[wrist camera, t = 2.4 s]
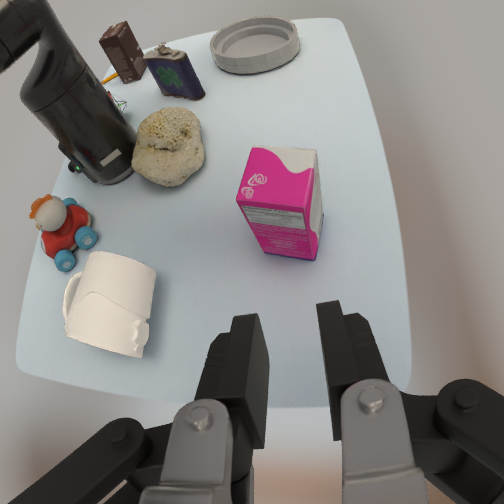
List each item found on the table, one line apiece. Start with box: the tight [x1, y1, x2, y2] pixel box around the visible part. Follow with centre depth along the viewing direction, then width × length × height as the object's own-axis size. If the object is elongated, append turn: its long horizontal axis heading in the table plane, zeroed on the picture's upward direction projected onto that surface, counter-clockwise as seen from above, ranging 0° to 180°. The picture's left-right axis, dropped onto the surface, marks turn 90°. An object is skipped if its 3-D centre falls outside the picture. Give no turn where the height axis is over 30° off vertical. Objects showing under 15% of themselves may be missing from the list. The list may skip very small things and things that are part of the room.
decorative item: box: [131, 107, 205, 187], centre depth 41 cm, size 12×9×10 cm
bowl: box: [210, 16, 300, 74], centre depth 48 cm, size 15×15×4 cm
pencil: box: [101, 72, 118, 84], centre depth 58 cm, size 1×13×1 cm
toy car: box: [29, 194, 97, 272], centre depth 38 cm, size 9×9×10 cm
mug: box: [63, 251, 156, 358], centre depth 33 cm, size 12×9×8 cm
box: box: [99, 21, 147, 84], centre depth 51 cm, size 6×4×12 cm
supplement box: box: [236, 146, 324, 261], centre depth 30 cm, size 6×6×12 cm
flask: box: [143, 42, 205, 101], centre depth 45 cm, size 9×3×11 cm, turn 60°
